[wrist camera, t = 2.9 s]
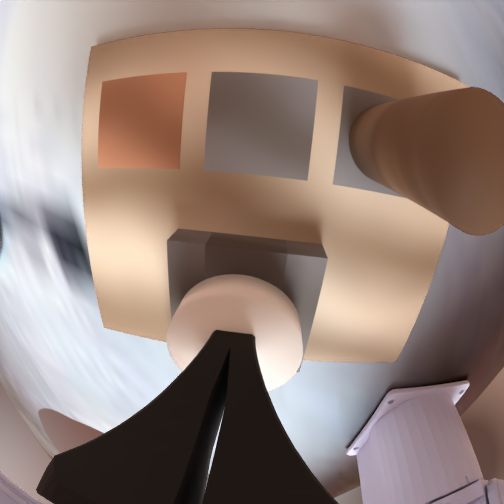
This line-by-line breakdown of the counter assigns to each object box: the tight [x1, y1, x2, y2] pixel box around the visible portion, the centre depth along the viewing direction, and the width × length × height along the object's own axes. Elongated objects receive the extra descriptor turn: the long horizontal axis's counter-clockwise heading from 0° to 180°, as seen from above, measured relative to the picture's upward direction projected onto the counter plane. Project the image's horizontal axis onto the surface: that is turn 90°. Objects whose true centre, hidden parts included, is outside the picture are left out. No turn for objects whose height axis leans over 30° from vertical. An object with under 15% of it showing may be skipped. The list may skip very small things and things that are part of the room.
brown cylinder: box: [349, 87, 504, 236], centre depth 7 cm, size 3×3×6 cm
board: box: [82, 28, 467, 372], centre depth 11 cm, size 15×17×2 cm
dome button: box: [167, 274, 303, 391], centre depth 11 cm, size 5×5×3 cm
